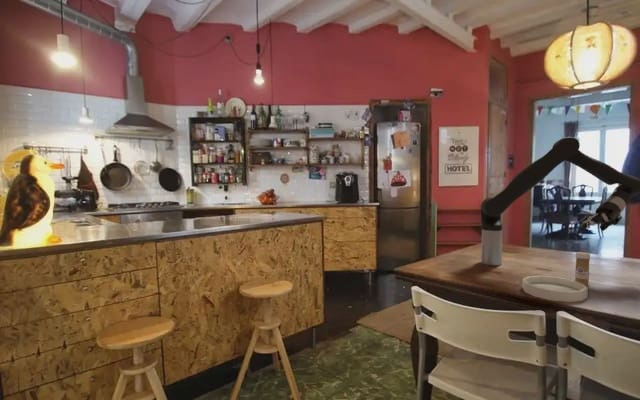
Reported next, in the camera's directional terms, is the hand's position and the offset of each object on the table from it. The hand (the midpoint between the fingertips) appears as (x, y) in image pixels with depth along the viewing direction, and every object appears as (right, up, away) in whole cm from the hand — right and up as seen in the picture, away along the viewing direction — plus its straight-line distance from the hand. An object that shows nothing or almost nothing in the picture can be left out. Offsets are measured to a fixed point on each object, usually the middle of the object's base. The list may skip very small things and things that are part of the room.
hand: (590, 229), depth 150 cm
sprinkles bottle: (-9, -22, -7) cm, 25 cm away
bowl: (-25, -23, -14) cm, 36 cm away
